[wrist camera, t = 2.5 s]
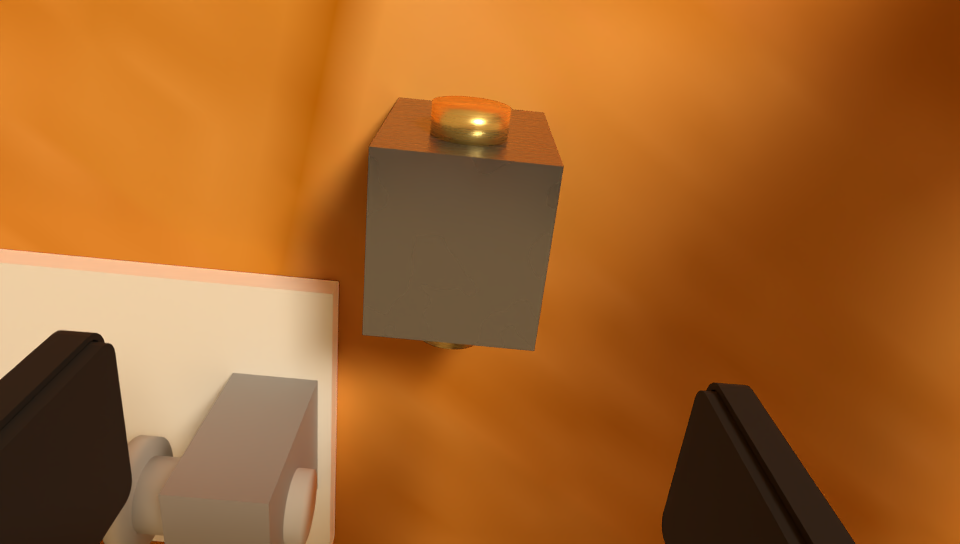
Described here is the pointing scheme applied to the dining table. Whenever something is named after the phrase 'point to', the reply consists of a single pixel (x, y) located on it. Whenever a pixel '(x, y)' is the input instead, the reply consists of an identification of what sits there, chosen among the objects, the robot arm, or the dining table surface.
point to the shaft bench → (200, 390)
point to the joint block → (459, 223)
